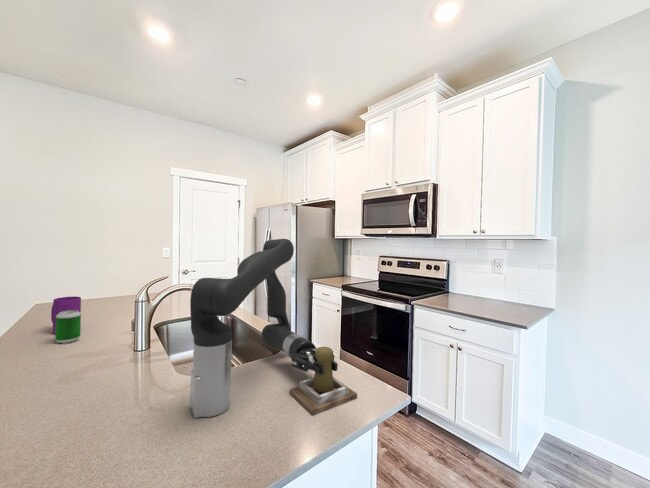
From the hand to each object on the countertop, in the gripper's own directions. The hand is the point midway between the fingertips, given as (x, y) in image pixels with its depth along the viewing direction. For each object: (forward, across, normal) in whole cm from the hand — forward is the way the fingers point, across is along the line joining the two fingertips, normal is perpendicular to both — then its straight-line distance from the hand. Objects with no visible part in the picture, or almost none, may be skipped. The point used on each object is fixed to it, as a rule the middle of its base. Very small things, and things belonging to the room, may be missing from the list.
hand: (329, 369), depth 78 cm
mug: (-110, -69, +10) cm, 130 cm away
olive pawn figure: (-3, 0, +6) cm, 7 cm away
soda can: (-92, -65, +10) cm, 112 cm away
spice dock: (-3, 0, +8) cm, 9 cm away
